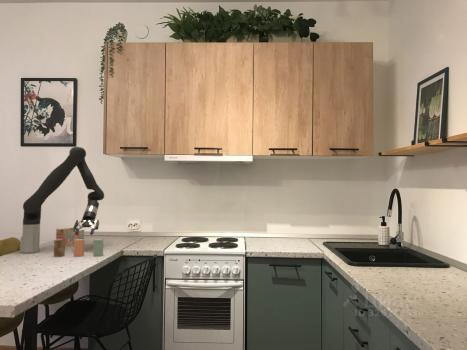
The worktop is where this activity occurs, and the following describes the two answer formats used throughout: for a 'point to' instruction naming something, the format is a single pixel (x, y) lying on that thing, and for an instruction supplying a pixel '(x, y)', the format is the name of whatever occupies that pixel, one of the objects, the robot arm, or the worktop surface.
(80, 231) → the stack of blocks
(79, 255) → the terracotta block
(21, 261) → the worktop surface
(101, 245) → the sage green block
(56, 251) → the walnut block
